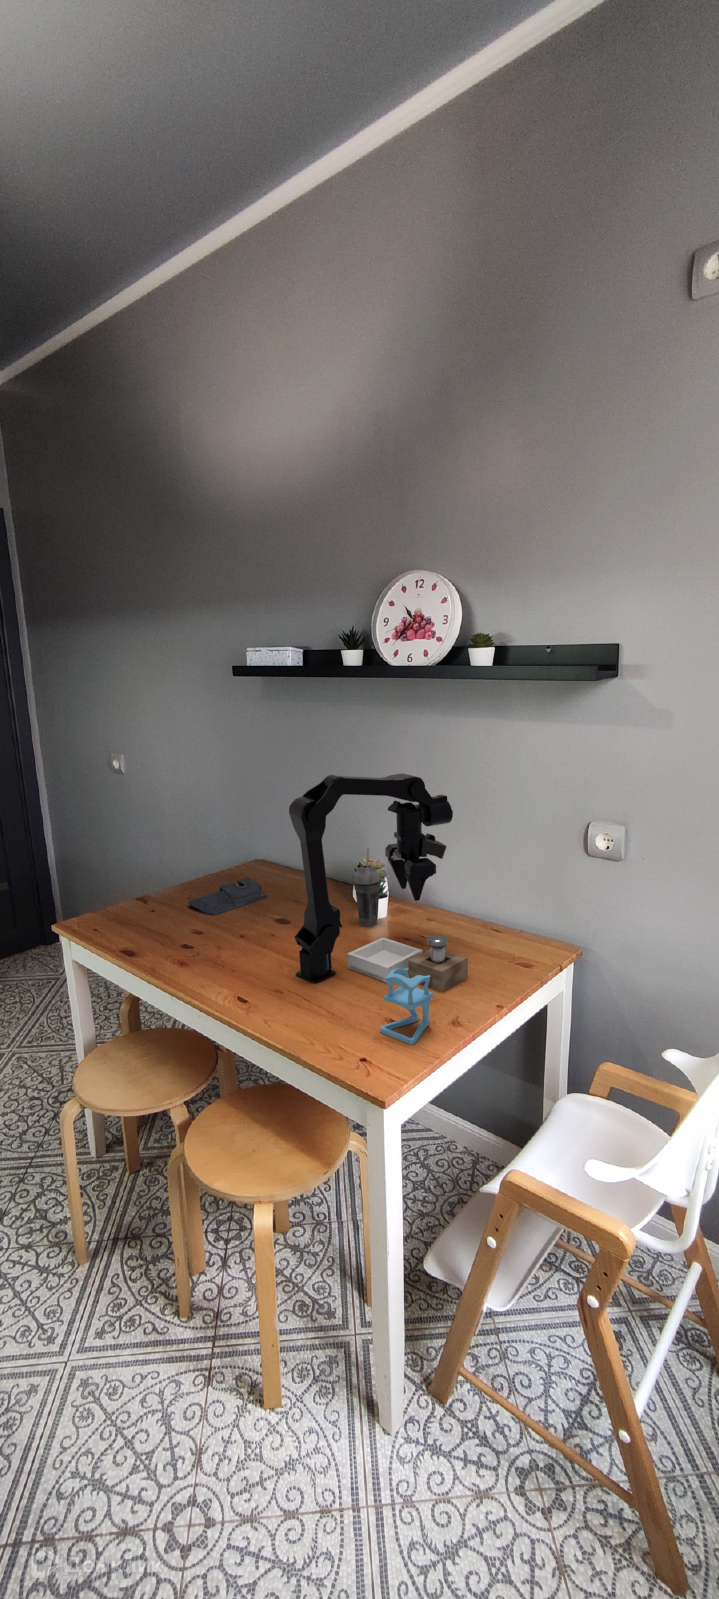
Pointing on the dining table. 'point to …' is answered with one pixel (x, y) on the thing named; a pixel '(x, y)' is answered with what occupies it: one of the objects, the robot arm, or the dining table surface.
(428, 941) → the lock pin
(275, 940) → the dining table surface
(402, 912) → the dining table surface
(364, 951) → the tray
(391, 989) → the chair
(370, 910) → the beverage cup
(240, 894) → the grey stepped plate
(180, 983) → the dining table surface
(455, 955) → the block
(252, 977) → the dining table surface
